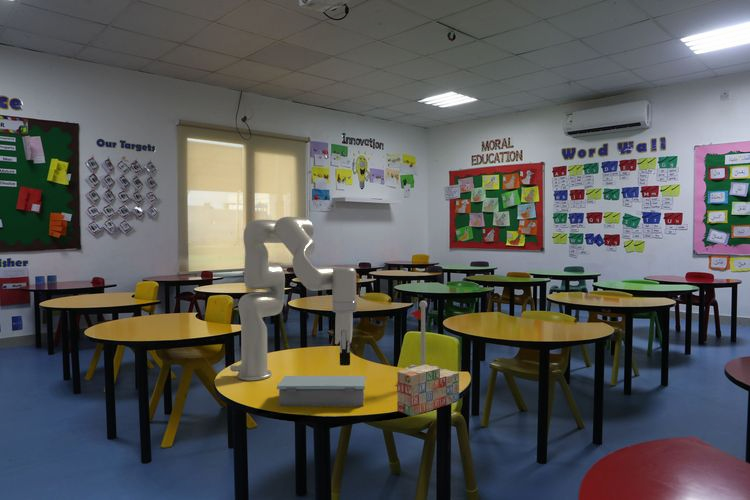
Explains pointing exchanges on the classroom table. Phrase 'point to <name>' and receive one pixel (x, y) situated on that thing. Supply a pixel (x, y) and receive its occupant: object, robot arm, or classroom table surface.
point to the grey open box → (321, 397)
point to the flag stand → (421, 316)
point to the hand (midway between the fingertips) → (345, 364)
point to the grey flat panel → (322, 383)
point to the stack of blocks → (426, 389)
